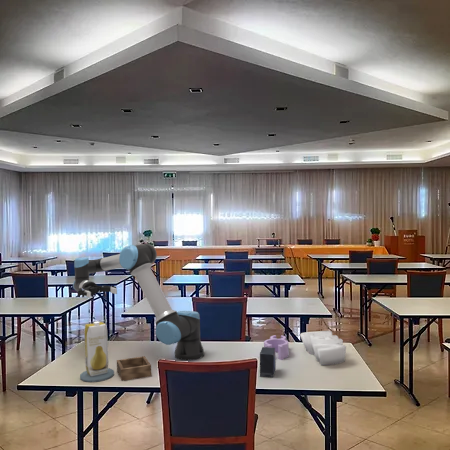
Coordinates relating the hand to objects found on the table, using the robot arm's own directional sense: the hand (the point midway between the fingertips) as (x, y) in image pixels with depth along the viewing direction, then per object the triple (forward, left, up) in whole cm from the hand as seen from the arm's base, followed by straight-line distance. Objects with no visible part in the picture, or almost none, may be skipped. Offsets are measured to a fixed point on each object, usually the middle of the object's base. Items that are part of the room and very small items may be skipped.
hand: (103, 293), depth 222 cm
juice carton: (+6, +18, -34) cm, 39 cm away
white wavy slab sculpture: (-102, +40, -35) cm, 115 cm away
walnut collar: (-10, +22, -35) cm, 42 cm away
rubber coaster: (+6, +18, -35) cm, 40 cm away
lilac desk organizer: (-83, +26, -35) cm, 94 cm away
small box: (-66, +49, -35) cm, 90 cm away
